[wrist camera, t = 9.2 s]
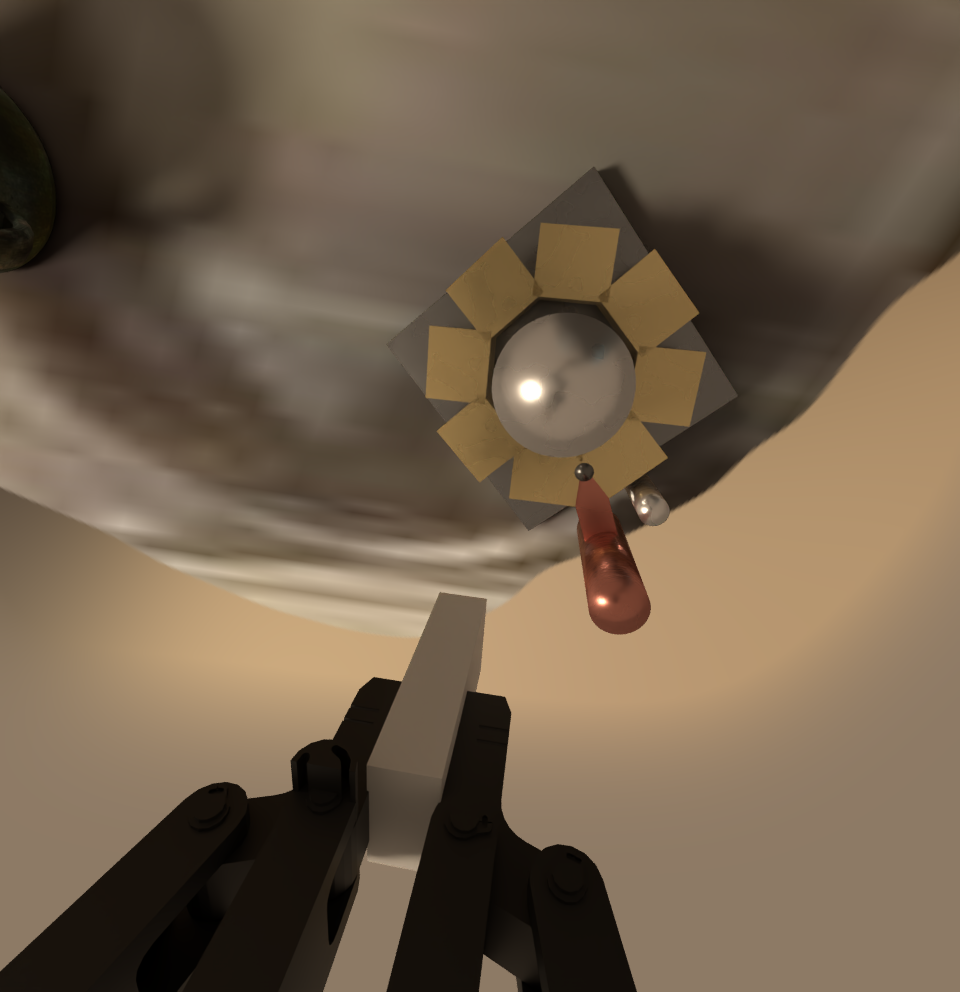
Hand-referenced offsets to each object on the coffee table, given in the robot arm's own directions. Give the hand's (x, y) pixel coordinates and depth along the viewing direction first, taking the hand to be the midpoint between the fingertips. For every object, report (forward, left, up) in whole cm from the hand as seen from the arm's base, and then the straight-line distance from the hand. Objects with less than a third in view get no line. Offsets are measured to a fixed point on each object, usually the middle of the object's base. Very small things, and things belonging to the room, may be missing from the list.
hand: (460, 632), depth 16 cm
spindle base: (-7, -4, -14) cm, 16 cm away
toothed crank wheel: (-6, -2, -13) cm, 14 cm away
